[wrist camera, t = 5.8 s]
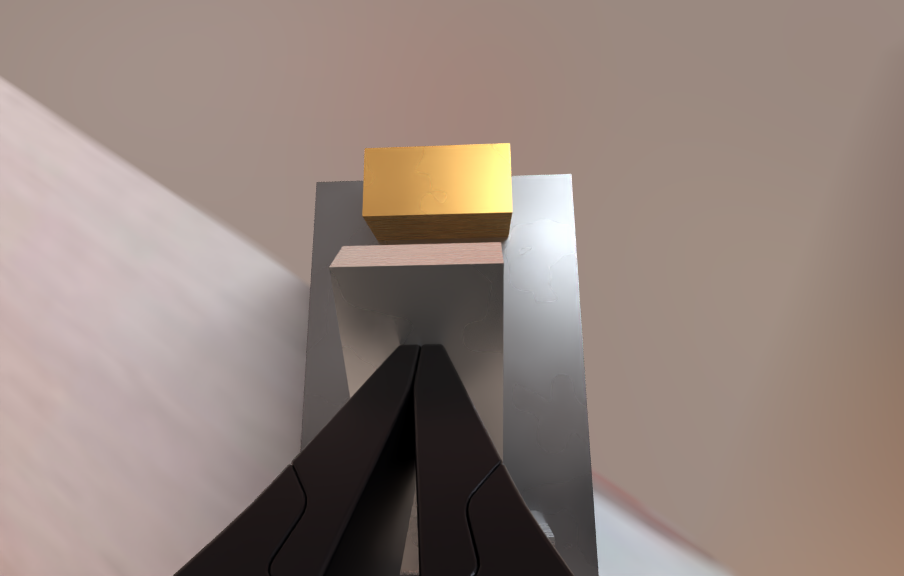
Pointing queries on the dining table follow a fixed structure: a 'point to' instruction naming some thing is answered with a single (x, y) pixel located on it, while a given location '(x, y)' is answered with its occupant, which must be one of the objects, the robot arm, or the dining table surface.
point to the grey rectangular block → (525, 309)
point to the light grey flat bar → (425, 322)
